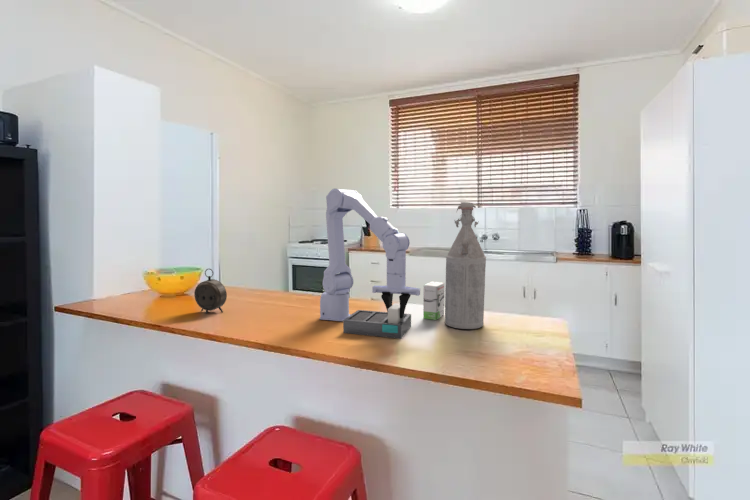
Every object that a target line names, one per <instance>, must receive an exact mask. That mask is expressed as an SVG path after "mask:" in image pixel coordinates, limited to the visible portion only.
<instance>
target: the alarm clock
mask: <svg viewBox="0 0 750 500" xmlns="http://www.w3.org/2000/svg"><path fill="white" fill-rule="evenodd" d="M209 270H211V273H212V275H211V276H210V275H209V276H208V275H207V271H209ZM204 276H205V277H206V278H208V279H207V280H204V281H201V282H199V283H198V284H197V285H196V287H195V290H194V299H195V302H196V305H198V307H200V308H201V312H203V311H204V310H205V314H208V312H209V311H210V312H211V311H215V310H217V309H218V310H219V311H220V312H221V313H224V310H223V309H222V308H221V307H223V305H225V303H226V301H227V297H228V296H227V295H228V293H227V289H226V287H225V286H224V284H223V283H222V282H220V281H219V280H217V279H214V278H213V276H214V271H213V269H212V268H206V269H205V271H204Z"/></svg>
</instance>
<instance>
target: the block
mask: <svg viewBox="0 0 750 500" xmlns="http://www.w3.org/2000/svg"><path fill="white" fill-rule="evenodd" d="M403 319H404V317H403V318H400V302H399V303H397V302H394V303H392V306H391V307H390V308H388V323H393V324H399V323H400V322H401V321H402V320H403Z"/></svg>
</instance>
